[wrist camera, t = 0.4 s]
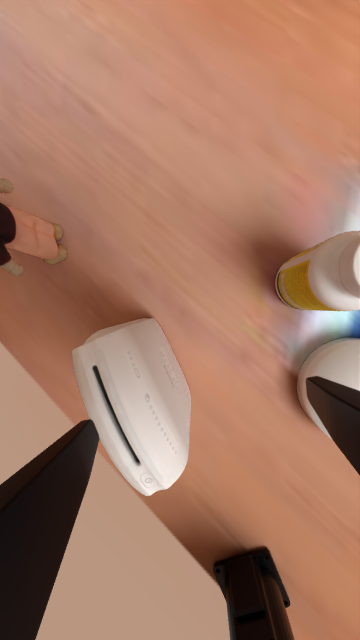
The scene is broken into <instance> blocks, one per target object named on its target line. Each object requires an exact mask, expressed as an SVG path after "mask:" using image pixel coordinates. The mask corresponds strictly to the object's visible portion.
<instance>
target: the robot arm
mask: <svg viewBox="0 0 360 640" xmlns="http://www.w3.org/2000/svg"><path fill="white" fill-rule="evenodd" d="M306 392H307V398H308V400H309V402H310V404H311V406H312V407H313V409H314V411H315V412H316V414H317V415H318V417H319V419H320V420H321V422H322V424H323V425H324V427H325V428H326V430H327V432H328V433H329V435H330V436H331V438H332V439H333V441H334V442H335V443H336V445H337V446H338V447H339V449H340V450H341V451H342V453H343V454H344V455H345V457H346V458H347V459H348V461H349V462H350V463H351V465H352V466H353V467H354V469H355V470H356V471H357V472H358V474H359V475H360V391H359V390H356V389H353V388H351V387H348V386H345V385H342V384H339V383H336V382H334V381H331V380H328V379H325V378H322V377H319V376H312V377H307V378H306ZM98 442H99V434H98V431H97V429H96V426H95V424H94V422H93V420H91V419H88V420H83V421H81V422H80V423H78V424H77V425H76V426H75V427H73V428H72V429H71V430H69V431H68V432H67V433H66V434H64V435H63V436H62V437H61V438H60V439H58V440H57V441H56V442H54V443H53V444H52V445H50V446H49V447H48V448H47V449H46V450H44V451H43V452H42V453H40V454H39V455H38V456H37V457H35V458H34V459H33V460H31V461H30V462H29V463H28V464H26V465H25V466H24V467H22V468H21V469H20V470H19V471H17V472H16V473H15V474H14V475H12V476H11V477H10V478H9V479H7V480H6V481H5V482H3V483H2V484H1V485H0V640H35V639H36V636H37V633H38V630H39V627H40V624H41V621H42V618H43V615H44V612H45V609H46V606H47V604H48V600H49V597H50V594H51V592H52V589H53V586H54V583H55V580H56V577H57V574H58V571H59V568H60V565H61V562H62V559H63V556H64V553H65V550H66V547H67V544H68V541H69V538H70V535H71V532H72V529H73V526H74V523H75V520H76V517H77V514H78V511H79V508H80V506H81V502H82V499H83V497H84V494H85V491H86V488H87V485H88V481H89V478H90V475H91V471H92V466H93V463H94V458H95V454H96V450H97V446H98ZM213 570H214V574H215V576H216V578H217V581H218V583H219V586H220V588H221V590H222V593H223V595H224V597H225V599H226V602H227V611H228V621H229V631H230V640H294V636H293V633H292V629H291V626H290V623H289V619H288V616H287V612H286V609H285V608H287V607H289V606H290V600H289V597H288V595H287V592H286V590H285V587H284V585H283V583H282V580H281V578H280V575H279V573H278V570H277V568H276V566H275V563H274V561H273V558H272V556H271V553H270V551H269V550H268V549H262V550H258V551H255V552H251V553H248V554H244V555H241V556H237V557H234V558H230V559H227V560H223V561H220V562H216V563H214V565H213Z"/></svg>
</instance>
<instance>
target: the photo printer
mask: <svg viewBox="0 0 360 640" xmlns="http://www.w3.org/2000/svg"><path fill="white" fill-rule="evenodd" d="M72 358H73V366H74V372H75V376H76V380H77V384H78V387H79V390H80V394H81V396H82V399H83V402H84V405H85V407H86V410H87V414H88V417H89V418H90V419H91V420H93V422H94V424H95V426H96V429H97V431H98V434H99V438H100V440H101V442H102V444H103V446H104V448H105V450H106V451H107V453H108V455H109V456H110V458H111V460H112V461H113V463H114V464H115V466H116V467H117V468H118V470H119V471H120V472H121V474H122V475H123V476H124V478H125V479H126V480H127V481H128V482H129V483H130V484H131V485H132V486H133V487H134V488H135V489H137V490H138V491H139V492H140V493H141V494H143V495H145V496H150V495H152V494H153V493H155V492H156V491H159V490H164V489H168V488H169V487H170V486H171V485H172V484H173V483H174V482H175V481H176V480H177V479H178V478H179V476H180V475H181V473H182V472H183V470H184V468H185V466H186V463H187V460H188V452H189V434H190V411H191V396H190V391H189V388H188V385H187V382H186V380H185V377H184V375H183V373H182V370H181V368H180V366H179V364H178V361H177V359H176V357H175V355H174V353H173V351H172V349H171V347H170V345H169V343H168V341H167V339H166V337H165V335H164V333H163V331H162V329H161V327H160V325H159V324H158V322H157V321H156V320H155V319H154V318H151V319H148V318H142V319H138V320H134V321H130V322H126V323H123V324H119V325H115V326H112V327H108V328H104V329H101V330H99V331H97V332H95V333H93V334H92V335H91V336H90V337H88V338H87V339H86V341H85V342H84V344H83V345H82V346H79V347H77V348H75V349H74V350H72Z"/></svg>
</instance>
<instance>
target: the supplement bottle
mask: <svg viewBox="0 0 360 640" xmlns="http://www.w3.org/2000/svg"><path fill="white" fill-rule="evenodd" d="M275 286H276V291H277V294H278V296H279V297H280V299H281V300H282V301H283V302H284V303H285V304H286V305H288V306H290V307H292V308H295V309H300V310H323V311H354V310H360V231H350V232H345V233H342V234H339V235H336V236H334V237H332V238H330V239H328V240H326V241H324V242H322V243H320V244H318V245H316V246H314V247H312V248H310V249H308V250H306V251H304V252H302V253H300V254H298V255H296V256H294V257H292V258H290V259H289V260H287V261H286V262H285V263H284V264H283V265H282V266H281V268H280V269H279V271H278V273H277V276H276V281H275Z"/></svg>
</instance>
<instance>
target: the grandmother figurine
mask: <svg viewBox="0 0 360 640" xmlns="http://www.w3.org/2000/svg"><path fill="white" fill-rule="evenodd" d="M12 191H13V186H12V184H11V182H9V181H8V180H6V179H0V193H2V192H4V193H11V192H12ZM62 235H63V230H62V228H61V227H60V226H59V225H56V224H52V223H49V222H46V221H44V220H42V219H41V218H39V217H36V216H34V215H32V214H29V213H26V212H23V211H20V210H18V209H15V208H12V207H9V206H6V205H4V204H2V203H0V267H1V268H3V269H5V270H8V271H9V273H10V274H12V275H14V276H20V275H22V274H23V272H24V268H23V267H22V266H21V265H20V264H18V263H16V262H15V260H14V259H12V258H11V256H10V254H9V253H8V251H7V249H6V247H7V248H10V249H13V250H16V251H20V252H23V253H27V254H30V255H33V256H36V257H40V258H43V260H44V261H45V262H46V263H48V264H51V265H52V264H55V263H58V262H60V261H62V260H64V259H65V258H66V257H67V250H66V248H65V247H64V246H63V245H57V244H56V241H55V240H59V239H61V237H62Z"/></svg>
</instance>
